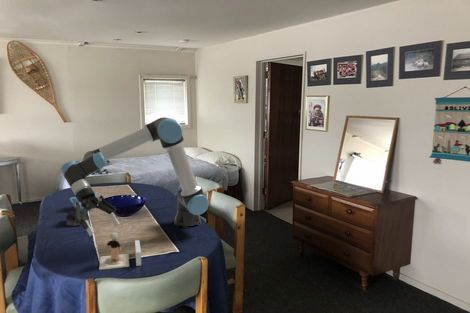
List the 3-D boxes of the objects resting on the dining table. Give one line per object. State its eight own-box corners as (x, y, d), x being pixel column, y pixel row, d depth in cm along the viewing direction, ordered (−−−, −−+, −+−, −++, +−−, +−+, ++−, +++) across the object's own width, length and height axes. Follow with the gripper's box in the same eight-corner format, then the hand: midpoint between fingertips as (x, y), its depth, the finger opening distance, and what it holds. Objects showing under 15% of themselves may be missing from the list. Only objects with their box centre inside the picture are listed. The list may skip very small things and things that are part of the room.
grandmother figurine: (124, 259, 157) (124, 231, 155) (120, 263, 153) (120, 235, 151) (108, 257, 158) (107, 230, 156) (104, 261, 154) (103, 233, 152)
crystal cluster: (83, 218, 212) (80, 202, 211) (95, 221, 204) (92, 205, 202) (61, 225, 202) (58, 209, 200) (73, 229, 194) (70, 212, 192)
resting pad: (128, 254, 163) (128, 253, 163) (129, 266, 152) (129, 265, 152) (100, 257, 159) (100, 256, 159) (99, 269, 148) (99, 268, 148)
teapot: (68, 212, 221) (67, 195, 219) (81, 204, 235) (80, 188, 233) (87, 214, 220) (86, 196, 217) (99, 206, 233) (98, 190, 231)
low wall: (139, 252, 166) (139, 239, 166) (141, 265, 153) (140, 252, 152) (135, 252, 166) (134, 240, 165) (136, 265, 153) (136, 252, 152)
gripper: (102, 190, 174) (123, 226, 169) (53, 202, 153) (76, 243, 148) (109, 181, 171) (131, 217, 165) (60, 192, 150) (83, 233, 144)
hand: (105, 229), depth 157 cm, fingers open, 13 cm apart
